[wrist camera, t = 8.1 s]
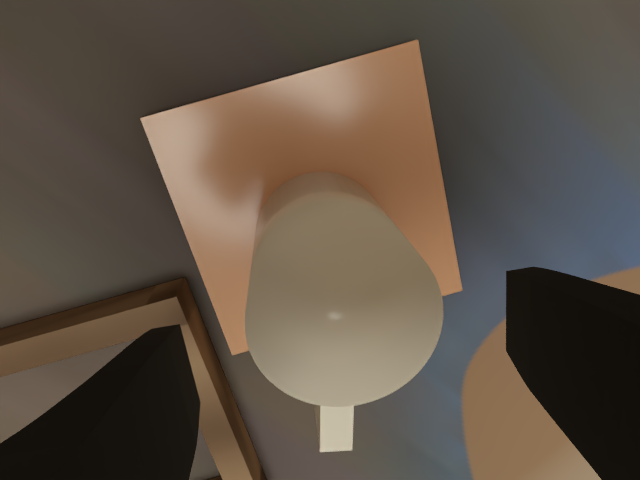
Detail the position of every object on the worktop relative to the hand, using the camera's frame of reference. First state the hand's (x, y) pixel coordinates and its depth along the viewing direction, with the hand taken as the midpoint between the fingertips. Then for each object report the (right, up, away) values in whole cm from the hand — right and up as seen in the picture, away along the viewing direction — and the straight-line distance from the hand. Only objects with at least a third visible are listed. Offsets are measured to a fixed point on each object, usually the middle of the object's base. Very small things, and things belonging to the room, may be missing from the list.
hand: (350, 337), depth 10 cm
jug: (-1, +1, +9) cm, 9 cm away
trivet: (-1, +3, +8) cm, 9 cm away
